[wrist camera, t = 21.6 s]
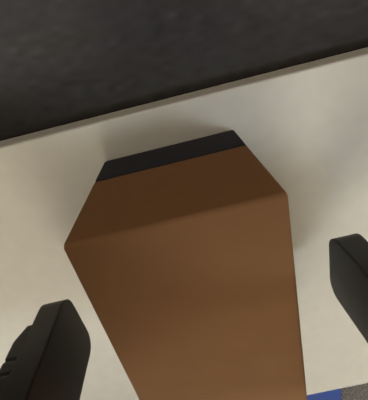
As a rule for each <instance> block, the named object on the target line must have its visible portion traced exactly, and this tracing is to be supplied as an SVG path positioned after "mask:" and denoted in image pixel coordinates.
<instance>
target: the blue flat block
mask: <svg viewBox="0 0 368 400" xmlns="http://www.w3.org/2000/svg"><path fill="white" fill-rule="evenodd" d="M307 400H341V388H340V389H335V390H330V391H325V392H320V393H316V394H311V395H307Z"/></svg>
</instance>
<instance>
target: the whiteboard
mask: <svg viewBox="0 0 368 400" xmlns="http://www.w3.org/2000/svg"><path fill="white" fill-rule="evenodd" d="M230 130H234V131H235V132H236V134H237V135H238V136H239V137H240V138H241V139H242V141H243V142H244V143H245V144H246V146H247V147H248V148H249V149H250V150H251V151H252V153H253V154H254V155H255V156H256V157H257V158H258V160H259V161H260V162H261V163H262V164H263V166H264V167H265V168H266V169H267V170H268V171H269V173H270V174H271V175H272V176H273V177H274V179H275V180H276V181H277V182H278V183H279V184H280V186H281V187H282V188H283V189H284V190H285V192H286V193H287V195H288V203H289V213H290V224H291V234H292V245H293V255H294V266H295V276H296V287H297V298H298V308H299V319H300V329H301V340H302V350H303V361H304V371H305V382H306V392H307V395H311V394H316V393H320V392H325V391H330V390H335V389H340V388H345V387H350V386H355V385H359V384H364V383H368V343H367V342H366V340H365V339H364V337H363V336H362V334H361V333H360V331H359V330H358V329H357V327H356V326H355V324H354V323H353V321H352V320H351V318H350V317H349V316H348V314H347V313H346V311H345V310H344V308H343V307H342V305H341V304H340V303H339V301H338V300H337V298H336V296H335V294H334V292H333V289H332V286H331V283H330V268H329V241H330V240H331V239H333V238H338V237H342V236H346V235H351V234H355V233H358V234H360V235H361V236H363V237H364V238H365V239H366V240H367V241H368V47H366V48H362V49H358V50H354V51H351V52H347V53H343V54H339V55H335V56H331V57H327V58H323V59H319V60H315V61H311V62H308V63H304V64H300V65H296V66H292V67H288V68H284V69H280V70H276V71H272V72H268V73H264V74H261V75H257V76H253V77H249V78H245V79H241V80H237V81H233V82H229V83H225V84H221V85H218V86H214V87H210V88H206V89H202V90H198V91H194V92H190V93H186V94H182V95H178V96H174V97H171V98H167V99H163V100H159V101H155V102H151V103H147V104H143V105H139V106H135V107H131V108H127V109H124V110H120V111H116V112H112V113H108V114H104V115H100V116H96V117H92V118H88V119H84V120H81V121H77V122H73V123H69V124H65V125H61V126H57V127H53V128H49V129H45V130H41V131H37V132H34V133H30V134H26V135H22V136H18V137H14V138H10V139H6V140H2V141H0V369H1V367H2V365H3V363H5V358H6V356H7V354H8V352H9V350H10V348H11V346H12V344H13V342H14V341H15V340H16V339H17V338H18V336H19V335H20V334H21V333H22V332H23V331H24V329H25V328H26V327H27V326H30V325H32V324H33V322H34V320H35V317H36V315H37V313H38V311H39V309H40V307H41V306H42V305H44V304H48V303H52V302H57V301H61V300H65V299H69V300H70V301H71V302H72V303H73V305H74V307H75V309H76V310H77V312H78V314H79V316H80V318H81V320H82V321H83V323H84V325H85V327H86V329H87V331H88V333H89V336H90V341H91V352H90V357H89V361H88V366H87V370H86V374H85V379H84V383H83V387H82V392H81V396H80V400H139V398H138V396H137V394H136V392H135V390H134V388H133V386H132V384H131V382H130V380H129V378H128V376H127V374H126V372H125V370H124V368H123V366H122V364H121V362H120V360H119V358H118V356H117V354H116V352H115V350H114V348H113V346H112V344H111V342H110V340H109V338H108V336H107V334H106V332H105V330H104V328H103V326H102V324H101V322H100V320H99V318H98V316H97V314H96V312H95V310H94V308H93V306H92V304H91V302H90V300H89V298H88V296H87V294H86V292H85V290H84V288H83V286H82V284H81V282H80V280H79V278H78V276H77V274H76V272H75V270H74V268H73V266H72V264H71V262H70V260H69V258H68V256H67V254H66V252H65V250H64V243H65V241H66V239H67V237H68V235H69V233H70V231H71V229H72V227H73V225H74V223H75V221H76V219H77V217H78V215H79V213H80V211H81V209H82V207H83V205H84V203H85V201H86V199H87V197H88V195H89V193H90V191H91V189H92V187H93V185H94V183H95V181H96V179H97V177H98V175H99V173H100V171H101V169H102V167H103V165H104V163H105V162H106V161H109V160H113V159H117V158H121V157H125V156H129V155H133V154H137V153H141V152H145V151H149V150H153V149H157V148H161V147H165V146H169V145H173V144H177V143H181V142H185V141H189V140H193V139H197V138H202V137H206V136H210V135H214V134H218V133H222V132H226V131H230Z"/></svg>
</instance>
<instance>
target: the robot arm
mask: <svg viewBox="0 0 368 400" xmlns="http://www.w3.org/2000/svg"><path fill="white" fill-rule="evenodd" d="M329 268H330V283H331V286H332V289H333V292H334V294H335V296H336V298H337V300H338V301H339V303H340V304H341V305H342V307H343V308H344V310H345V311H346V313H347V314H348V316H349V317H350V318H351V320H352V321H353V323H354V324H355V326H356V327H357V329H358V330H359V331H360V333H361V334H362V336H363V337H364V339H365V340H366V342H367V343H368V241H367V240H366V239H365V238H364V237H363V236H361V235H360V234H358V233H355V234H351V235H346V236H342V237H338V238H333V239H331V240H330V241H329ZM90 352H91V341H90V336H89V333H88V331H87V329H86V327H85V325H84V323H83V321H82V320H81V318H80V316H79V314H78V312H77V310H76V309H75V307H74V305H73V303H72V302H71V301H70V300H69V299H65V300H61V301H57V302H52V303H48V304H44V305H42V306H41V307H40V309H39V311H38V313H37V315H36V317H35V320H34V322H33V324H32V325H30V326H27V327H26V328H25V329H24V331H23V332H22V333H21V334H20V335H19V336H18V338H17V339H16V340H15V341H14V342H13V344H12V346H11V348H10V350H9V352H8V354H7V356H6V358H5V363H3V365H2V367H1V369H0V400H80V396H81V392H82V387H83V383H84V379H85V374H86V370H87V366H88V361H89V357H90Z"/></svg>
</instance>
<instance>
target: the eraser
mask: <svg viewBox="0 0 368 400" xmlns="http://www.w3.org/2000/svg"><path fill="white" fill-rule="evenodd" d="M64 250H65V252H66V254H67V256H68V258H69V260H70V262H71V264H72V266H73V268H74V270H75V272H76V274H77V276H78V278H79V280H80V282H81V284H82V286H83V288H84V290H85V292H86V294H87V296H88V298H89V300H90V302H91V304H92V306H93V308H94V310H95V312H96V314H97V316H98V318H99V320H100V322H101V324H102V326H103V328H104V330H105V332H106V334H107V336H108V338H109V340H110V342H111V344H112V346H113V348H114V350H115V352H116V354H117V356H118V358H119V360H120V362H121V364H122V366H123V368H124V370H125V372H126V374H127V376H128V378H129V380H130V382H131V384H132V386H133V388H134V390H135V392H136V394H137V396H138V398H139V400H307V392H306V382H305V371H304V361H303V350H302V340H301V329H300V319H299V308H298V298H297V287H296V276H295V266H294V255H293V245H292V234H291V224H290V213H289V203H288V195H287V193H286V192H285V190H284V189H283V188H282V187H281V186H280V184H279V183H278V182H277V181H276V180H275V179H274V177H273V176H272V175H271V174H270V173H269V171H268V170H267V169H266V168H265V167H264V166H263V164H262V163H261V162H260V161H259V160H258V158H257V157H256V156H255V155H254V154H253V153H252V151H251V150H250V149H249V148H248V147H247V146H246V144H245V143H244V142H243V141H242V139H241V138H240V137H239V136H238V135H237V134H236V132H235V131H234V130H230V131H226V132H222V133H218V134H214V135H210V136H206V137H202V138H197V139H193V140H189V141H185V142H181V143H177V144H173V145H169V146H165V147H161V148H157V149H153V150H149V151H145V152H141V153H137V154H133V155H129V156H125V157H121V158H117V159H113V160H109V161H106V162H105V163H104V165H103V167H102V169H101V171H100V173H99V175H98V177H97V179H96V181H95V183H94V185H93V187H92V189H91V191H90V193H89V195H88V197H87V199H86V201H85V203H84V205H83V207H82V209H81V211H80V213H79V215H78V217H77V219H76V221H75V223H74V225H73V227H72V229H71V231H70V233H69V235H68V237H67V239H66V241H65V243H64Z"/></svg>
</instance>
